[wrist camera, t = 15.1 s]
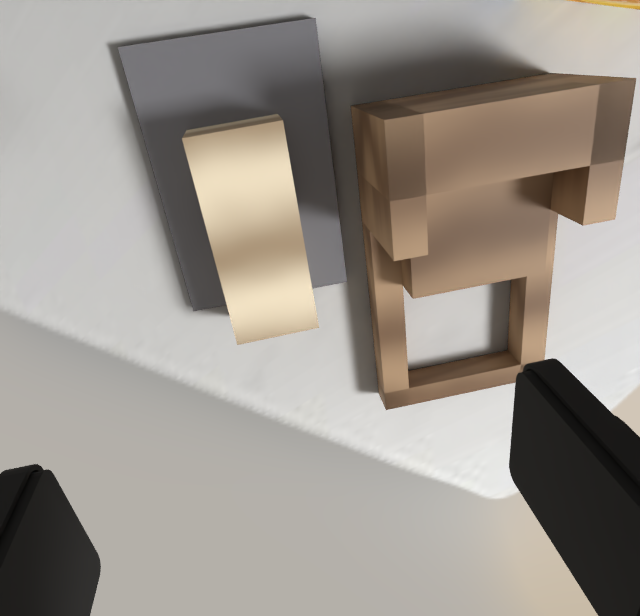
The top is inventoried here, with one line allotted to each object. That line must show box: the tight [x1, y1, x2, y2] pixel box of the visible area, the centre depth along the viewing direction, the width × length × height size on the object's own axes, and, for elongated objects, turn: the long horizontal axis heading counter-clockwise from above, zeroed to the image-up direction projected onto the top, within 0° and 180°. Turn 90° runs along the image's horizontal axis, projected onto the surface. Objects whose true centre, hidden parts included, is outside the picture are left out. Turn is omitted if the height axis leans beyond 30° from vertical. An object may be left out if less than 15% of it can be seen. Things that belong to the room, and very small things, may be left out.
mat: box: [118, 18, 347, 311], centre depth 29 cm, size 15×10×1 cm, turn 8°
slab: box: [182, 114, 319, 345], centre depth 29 cm, size 12×5×3 cm, turn 9°
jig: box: [351, 73, 636, 410], centre depth 30 cm, size 20×12×7 cm, turn 8°
